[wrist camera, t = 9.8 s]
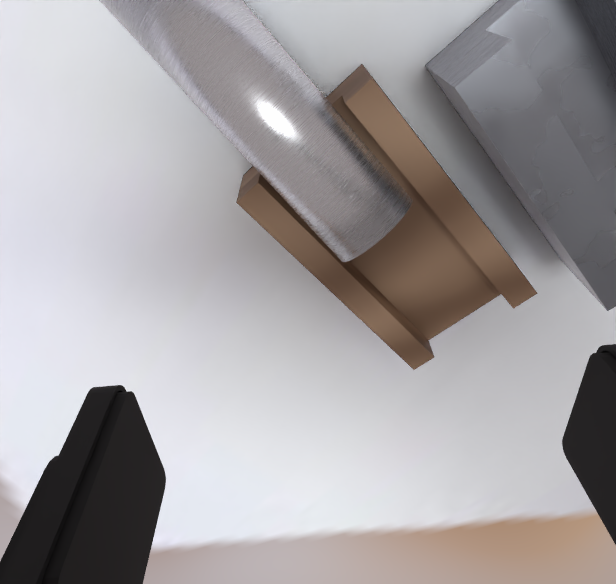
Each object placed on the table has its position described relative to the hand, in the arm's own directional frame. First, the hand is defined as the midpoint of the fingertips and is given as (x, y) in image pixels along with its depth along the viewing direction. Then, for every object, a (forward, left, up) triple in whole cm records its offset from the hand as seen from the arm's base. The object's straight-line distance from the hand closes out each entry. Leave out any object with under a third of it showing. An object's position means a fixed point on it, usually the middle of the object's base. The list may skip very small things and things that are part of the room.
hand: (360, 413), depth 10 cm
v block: (-7, -10, -17) cm, 21 cm away
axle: (+4, 0, -16) cm, 16 cm away
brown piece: (-5, 0, -17) cm, 18 cm away
